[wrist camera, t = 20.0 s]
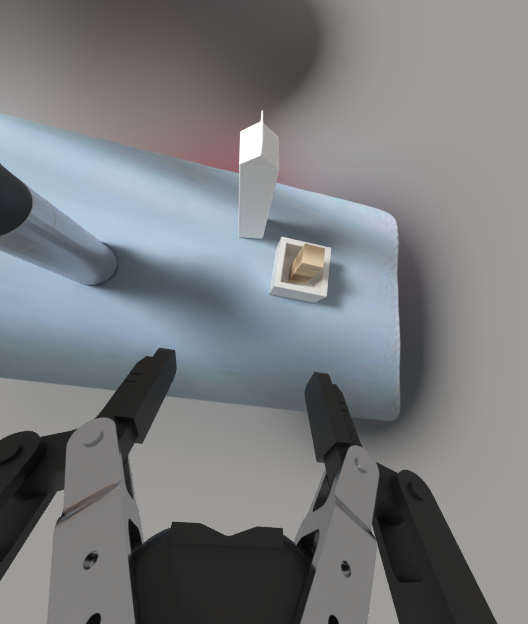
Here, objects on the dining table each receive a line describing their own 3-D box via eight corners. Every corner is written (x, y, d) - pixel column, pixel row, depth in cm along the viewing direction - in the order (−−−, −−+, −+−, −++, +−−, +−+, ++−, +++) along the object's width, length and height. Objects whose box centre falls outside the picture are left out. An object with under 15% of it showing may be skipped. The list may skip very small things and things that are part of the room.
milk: (262, 217, 48) (284, 111, 26) (262, 239, 46) (285, 147, 25) (238, 215, 47) (240, 103, 25) (237, 237, 46) (239, 140, 24)
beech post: (304, 284, 45) (322, 267, 35) (288, 281, 44) (302, 262, 35) (306, 269, 46) (325, 248, 36) (290, 265, 45) (305, 243, 35)
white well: (315, 303, 45) (326, 296, 39) (269, 294, 44) (274, 286, 38) (319, 260, 48) (331, 247, 42) (276, 250, 46) (281, 236, 41)
